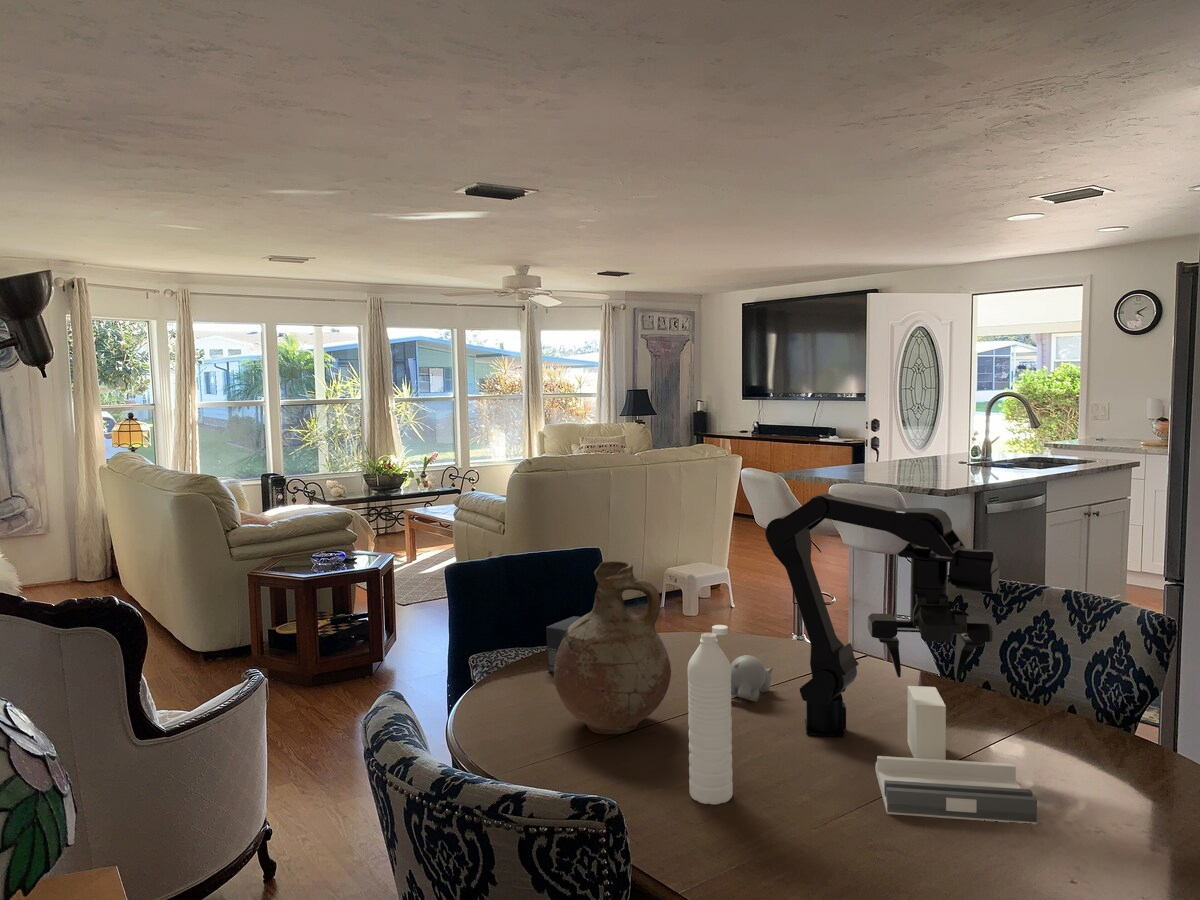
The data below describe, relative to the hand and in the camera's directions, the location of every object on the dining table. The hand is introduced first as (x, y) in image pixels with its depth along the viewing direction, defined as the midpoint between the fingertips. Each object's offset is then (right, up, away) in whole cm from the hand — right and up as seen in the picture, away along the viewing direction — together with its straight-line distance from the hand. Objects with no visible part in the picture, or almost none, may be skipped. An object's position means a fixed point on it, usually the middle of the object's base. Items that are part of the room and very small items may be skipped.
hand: (927, 677), depth 143 cm
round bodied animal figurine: (-24, -12, +29) cm, 39 cm away
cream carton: (0, -13, +1) cm, 13 cm away
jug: (-52, -13, +16) cm, 56 cm away
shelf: (-2, -14, -14) cm, 20 cm away
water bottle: (-37, -15, -11) cm, 41 cm away
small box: (-61, -11, +49) cm, 79 cm away
